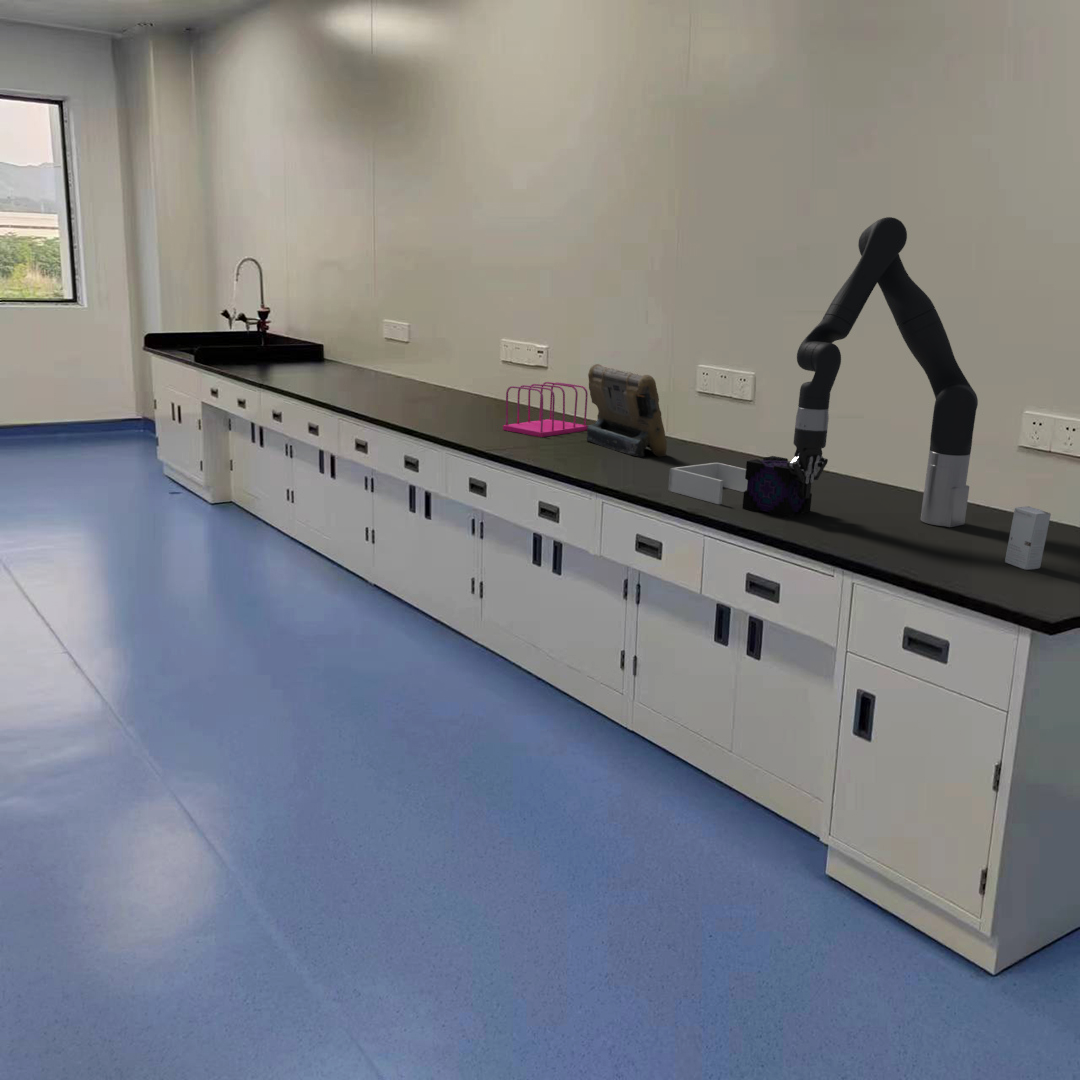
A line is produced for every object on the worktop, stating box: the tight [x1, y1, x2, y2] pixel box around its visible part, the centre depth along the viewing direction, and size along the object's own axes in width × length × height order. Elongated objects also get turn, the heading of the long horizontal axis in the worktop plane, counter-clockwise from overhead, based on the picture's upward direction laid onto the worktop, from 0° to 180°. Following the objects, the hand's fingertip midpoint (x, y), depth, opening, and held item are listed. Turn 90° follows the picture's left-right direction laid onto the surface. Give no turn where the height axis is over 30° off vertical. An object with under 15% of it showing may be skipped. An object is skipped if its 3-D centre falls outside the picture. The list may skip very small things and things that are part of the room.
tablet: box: [586, 363, 668, 458], centre depth 350 cm, size 33×14×25 cm, turn 35°
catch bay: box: [667, 461, 748, 505], centre depth 291 cm, size 18×18×6 cm
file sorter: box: [502, 381, 589, 438], centre depth 379 cm, size 17×25×16 cm
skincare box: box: [1004, 505, 1052, 571], centre depth 233 cm, size 6×4×12 cm
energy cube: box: [742, 455, 813, 519], centre depth 275 cm, size 12×12×12 cm
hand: (803, 498), depth 269 cm, fingers closed
